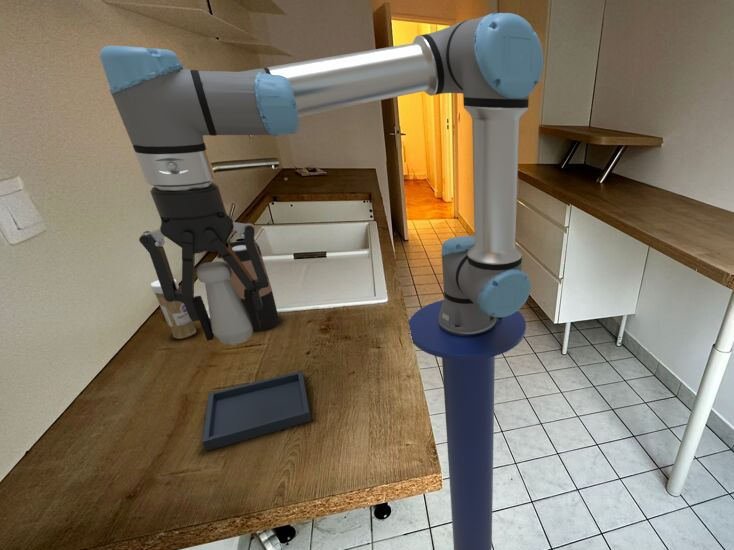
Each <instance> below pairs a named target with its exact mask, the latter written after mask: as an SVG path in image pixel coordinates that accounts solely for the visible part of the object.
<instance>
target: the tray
mask: <svg viewBox="0 0 734 550" xmlns="http://www.w3.org/2000/svg"><path fill="white" fill-rule="evenodd" d="M310 422H312V416H311V409H310V404H309V397H308V392H307V387H306V381H305V376H304V373H303V370H300V371H296V372H291V373H287V374H283V375H278V376H274V377H270V378H266V379H261V380H256V381H254V382H248V383H244V384H241V385H237V386H232V387H228V388H223V389H219V390H216V391H212V392H211V391H210V392H209V393H208V398H207V406H206V413H205V419H204V425H203V426H204V427H203V435H202V444H203V446H204V448H205V451H206V452H210V451H213V450H216V449H219V448H222V447H226V446H229V445H232V444H237V443H241V442H244V441H248V440H250V439H255V438H257V437H261V436H264V435H268V434H271V433H275V432H278V431H282V430H286V429H289V428H292V427H295V426H299V425H302V424H305V423H310Z"/></svg>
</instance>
